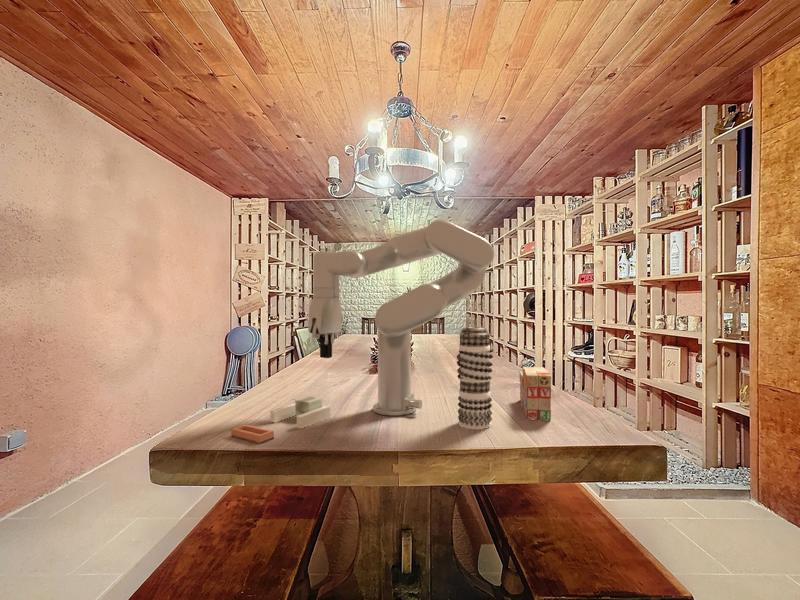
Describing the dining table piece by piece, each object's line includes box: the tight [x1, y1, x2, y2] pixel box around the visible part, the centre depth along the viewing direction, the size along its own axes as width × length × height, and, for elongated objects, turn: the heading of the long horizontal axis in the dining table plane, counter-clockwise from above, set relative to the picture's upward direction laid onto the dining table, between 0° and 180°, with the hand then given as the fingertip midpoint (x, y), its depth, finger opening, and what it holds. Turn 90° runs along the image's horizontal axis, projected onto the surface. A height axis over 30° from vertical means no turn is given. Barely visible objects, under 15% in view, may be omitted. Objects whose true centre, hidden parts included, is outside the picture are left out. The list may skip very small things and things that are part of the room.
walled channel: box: [269, 402, 331, 430], centre depth 113 cm, size 11×11×3 cm
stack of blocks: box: [519, 366, 552, 421], centre depth 121 cm, size 21×6×12 cm, turn 169°
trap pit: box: [230, 424, 275, 445], centre depth 99 cm, size 10×4×2 cm, turn 59°
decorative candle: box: [456, 326, 494, 430], centre depth 108 cm, size 9×9×25 cm
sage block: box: [294, 396, 323, 419], centre depth 116 cm, size 5×5×5 cm
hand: (326, 357), depth 122 cm, fingers closed
